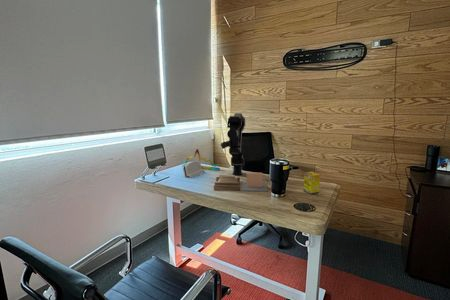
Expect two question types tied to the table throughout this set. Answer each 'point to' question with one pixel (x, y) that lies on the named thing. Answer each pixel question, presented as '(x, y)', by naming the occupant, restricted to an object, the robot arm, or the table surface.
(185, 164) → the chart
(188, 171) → the beige rounded block
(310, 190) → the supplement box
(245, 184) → the charcoal mat
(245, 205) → the table surface
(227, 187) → the walnut rack
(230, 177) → the offcut stack
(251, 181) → the terracotta board
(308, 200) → the table surface
